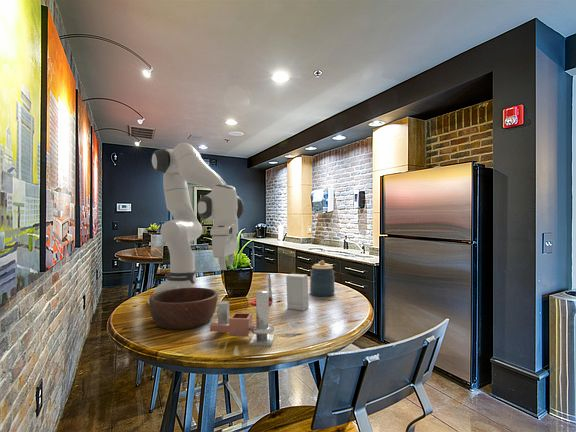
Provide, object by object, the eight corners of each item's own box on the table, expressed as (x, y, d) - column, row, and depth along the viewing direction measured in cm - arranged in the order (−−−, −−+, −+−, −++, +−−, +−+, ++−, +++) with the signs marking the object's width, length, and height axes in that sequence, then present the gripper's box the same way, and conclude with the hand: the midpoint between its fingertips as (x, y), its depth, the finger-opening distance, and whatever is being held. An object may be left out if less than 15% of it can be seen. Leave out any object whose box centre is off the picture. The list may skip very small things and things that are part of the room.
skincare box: (308, 307, 138) (309, 274, 138) (303, 311, 132) (303, 276, 132) (291, 305, 142) (292, 272, 142) (285, 308, 136) (285, 274, 136)
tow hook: (249, 306, 141) (271, 306, 140) (248, 276, 141) (269, 275, 141) (252, 301, 150) (273, 300, 149) (251, 272, 150) (272, 271, 150)
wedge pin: (217, 332, 108) (218, 303, 108) (220, 328, 112) (220, 301, 112) (226, 332, 108) (227, 303, 108) (229, 329, 111) (229, 301, 111)
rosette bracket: (207, 344, 98) (207, 293, 98) (214, 335, 106) (214, 288, 106) (272, 346, 97) (272, 295, 97) (275, 336, 104) (275, 289, 104)
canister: (321, 289, 172) (321, 257, 172) (339, 294, 163) (339, 260, 163) (304, 293, 164) (304, 260, 164) (323, 298, 154) (323, 262, 154)
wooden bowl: (166, 310, 133) (166, 286, 133) (224, 311, 132) (224, 287, 132) (135, 332, 108) (135, 303, 108) (206, 333, 107) (207, 304, 107)
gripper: (224, 228, 123) (225, 263, 123) (208, 230, 102) (209, 272, 102) (240, 227, 122) (241, 263, 122) (227, 229, 102) (228, 272, 102)
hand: (226, 267), depth 112 cm, fingers open, 8 cm apart
